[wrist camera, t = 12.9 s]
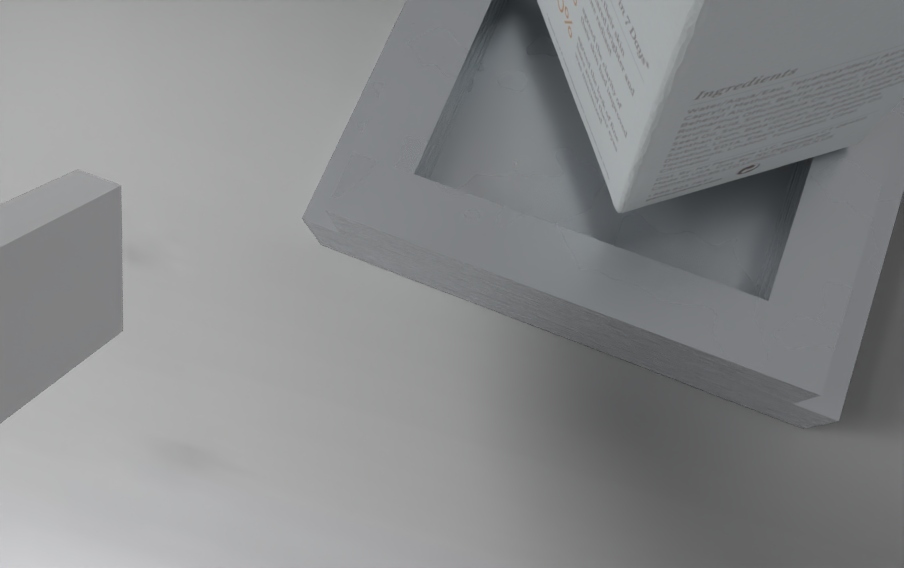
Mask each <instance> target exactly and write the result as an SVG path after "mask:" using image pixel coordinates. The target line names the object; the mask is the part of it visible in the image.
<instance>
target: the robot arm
mask: <svg viewBox="0 0 904 568" xmlns="http://www.w3.org/2000/svg"><path fill="white" fill-rule="evenodd" d="M122 331H123V291H122V211H121V185H119V184H116V183H113V182H111V181H108V180H105V179H102V178H100V177H97V176H94V175H92V174H89V173H86V172H83V171H81V170H75V171H73V172H71V173H69V174H66V175H64V176H62V177H60V178H58V179H55V180H53V181H51V182H49V183H47V184H44V185H42V186H40V187H38V188H36V189H33V190H31V191H29V192H27V193H24V194H22V195H20V196H18V197H16V198H13V199H11V200H9V201H7V202H5V203H2V204H0V423H2V422H3V421H4V420H6V419H7V418H8V417H10V416H11V415H12V414H13V413H15V412H16V411H17V410H19V409H20V408H21V407H23V406H24V405H25V404H27V403H28V402H29V401H31V400H32V399H33V398H35V397H36V396H37V395H39V394H40V393H41V392H43V391H44V390H45V389H47V388H48V387H49V386H51V385H52V384H53V383H55V382H56V381H57V380H58V379H60V378H61V377H62V376H64V375H65V374H66V373H68V372H69V371H70V370H72V369H73V368H74V367H76V366H77V365H78V364H80V363H81V362H82V361H84V360H85V359H86V358H88V357H89V356H90V355H92V354H93V353H94V352H96V351H97V350H98V349H99V348H101V347H102V346H103V345H105V344H106V343H107V342H109V341H110V340H111V339H113V338H114V337H115V336H117V335H118V334H119V333H121V332H122Z"/></svg>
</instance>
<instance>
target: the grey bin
mask: <svg viewBox="0 0 904 568" xmlns="http://www.w3.org/2000/svg"><path fill="white" fill-rule="evenodd" d="M903 191H904V98H903V99H902V100H901V101H900V102H899V103H898V104H897V105H896V106H895V107H894V108H893V109H892V110H891V111H890V112H889V113H888V114H887V115H886V116H885V117H884V118H883V119H882V120H881V121H880V122H879V123H878V124H877V125H876V126H875V127H874V128H873V129H872V130H871V131H870V132H869V134H868V135H867V136H866V137H865V138H864V139H863V140H861V141H860V142H859V143H858V144H856V145H853V146H849V147H845V148H842V149H838V150H835V151H832V152H828V153H825V154H822V155H818V156H815V157H811V158H808V159H805V160H801V161H798V162H794V163H791V164H787V165H784V166H781V167H777V168H774V169H771V170H768V171H764V172H761V173H757V174H754V175H750V176H747V177H744V178H740V179H737V180H733V181H730V182H726V183H723V184H720V185H716V186H713V187H709V188H706V189H702V190H699V191H696V192H692V193H689V194H685V195H682V196H678V197H675V198H672V199H668V200H665V201H661V202H658V203H654V204H651V205H647V206H644V207H641V208H638V209H634V210H631V211H628V212H625V213H618V212H617V211H616V209H615V207H614V205H613V202H612V199H611V195H610V193H609V190H608V187H607V184H606V181H605V179H604V176H603V173H602V171H601V168H600V165H599V163H598V160H597V157H596V155H595V152H594V149H593V147H592V144H591V141H590V139H589V136H588V133H587V131H586V128H585V126H584V123H583V121H582V118H581V116H580V113H579V111H578V108H577V105H576V103H575V100H574V97H573V95H572V92H571V89H570V87H569V84H568V81H567V79H566V76H565V73H564V70H563V68H562V65H561V62H560V60H559V57H558V54H557V52H556V49H555V47H554V44H553V41H552V39H551V36H550V34H549V31H548V28H547V26H546V23H545V20H544V18H543V15H542V12H541V10H540V7H539V4H538V2H537V0H407V1H406V3H405V5H404V7H403V9H402V11H401V13H400V15H399V17H398V19H397V21H396V24H395V26H394V28H393V30H392V32H391V34H390V36H389V38H388V40H387V42H386V44H385V47H384V49H383V51H382V53H381V55H380V57H379V59H378V61H377V63H376V65H375V67H374V69H373V72H372V74H371V76H370V78H369V80H368V82H367V84H366V86H365V88H364V90H363V92H362V94H361V97H360V99H359V101H358V103H357V105H356V107H355V109H354V111H353V113H352V115H351V117H350V119H349V122H348V124H347V126H346V128H345V130H344V132H343V134H342V136H341V138H340V140H339V142H338V145H337V147H336V149H335V151H334V153H333V155H332V157H331V159H330V161H329V163H328V165H327V167H326V170H325V172H324V174H323V176H322V178H321V180H320V182H319V184H318V186H317V188H316V190H315V192H314V195H313V197H312V199H311V201H310V203H309V205H308V207H307V209H306V211H305V213H304V215H303V218H302V219H303V221H304V222H305V223H306V225H307V226H308V228H309V229H310V230H311V232H312V233H313V235H314V236H315V237H316V239H317V240H318V241H319V243H320V244H321V245H323V246H326V247H329V248H331V249H334V250H336V251H339V252H342V253H344V254H347V255H350V256H352V257H355V258H357V259H360V260H363V261H365V262H368V263H371V264H373V265H376V266H378V267H381V268H384V269H386V270H389V271H392V272H394V273H397V274H399V275H402V276H405V277H407V278H410V279H412V280H415V281H418V282H420V283H423V284H426V285H428V286H431V287H433V288H436V289H439V290H441V291H444V292H447V293H449V294H452V295H454V296H457V297H460V298H462V299H465V300H468V301H470V302H473V303H475V304H478V305H481V306H483V307H486V308H488V309H491V310H494V311H496V312H499V313H502V314H504V315H507V316H509V317H512V318H515V319H517V320H520V321H523V322H525V323H528V324H530V325H533V326H536V327H538V328H541V329H544V330H546V331H549V332H551V333H554V334H557V335H559V336H562V337H564V338H567V339H570V340H572V341H575V342H578V343H580V344H583V345H585V346H588V347H591V348H593V349H596V350H599V351H601V352H604V353H606V354H609V355H612V356H614V357H617V358H620V359H622V360H625V361H627V362H630V363H633V364H635V365H638V366H640V367H643V368H646V369H648V370H651V371H654V372H656V373H659V374H661V375H664V376H667V377H669V378H672V379H675V380H677V381H680V382H682V383H685V384H688V385H690V386H693V387H696V388H698V389H701V390H703V391H706V392H709V393H711V394H714V395H716V396H719V397H722V398H724V399H727V400H730V401H732V402H735V403H737V404H740V405H743V406H745V407H748V408H751V409H753V410H756V411H758V412H761V413H764V414H766V415H769V416H772V417H774V418H777V419H779V420H782V421H785V422H787V423H790V424H792V425H795V426H798V427H800V428H808V427H813V426H818V425H823V424H828V423H833V422H838V421H839V419H840V416H841V412H842V408H843V405H844V401H845V398H846V394H847V391H848V387H849V384H850V380H851V376H852V373H853V369H854V366H855V362H856V359H857V355H858V352H859V348H860V344H861V341H862V337H863V334H864V330H865V327H866V323H867V320H868V316H869V312H870V309H871V305H872V302H873V298H874V295H875V291H876V288H877V284H878V280H879V277H880V273H881V270H882V266H883V263H884V259H885V256H886V252H887V248H888V245H889V241H890V238H891V234H892V231H893V227H894V223H895V220H896V216H897V213H898V209H899V206H900V202H901V199H902V195H903Z"/></svg>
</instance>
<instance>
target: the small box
mask: <svg viewBox="0 0 904 568" xmlns="http://www.w3.org/2000/svg"><path fill="white" fill-rule="evenodd" d="M537 2H538V4H539V7H540V10H541V12H542V15H543V18H544V20H545V23H546V26H547V28H548V31H549V34H550V36H551V39H552V41H553V44H554V47H555V49H556V52H557V54H558V57H559V60H560V62H561V65H562V68H563V70H564V73H565V76H566V79H567V81H568V84H569V87H570V89H571V92H572V95H573V97H574V100H575V103H576V105H577V108H578V111H579V113H580V116H581V118H582V121H583V123H584V126H585V128H586V131H587V133H588V136H589V139H590V141H591V144H592V147H593V149H594V152H595V155H596V157H597V160H598V163H599V165H600V168H601V171H602V173H603V176H604V179H605V181H606V184H607V187H608V190H609V193H610V195H611V199H612V202H613V205H614V207H615V209H616V211H617V212H618V213H625V212H628V211H631V210H634V209H638V208H641V207H644V206H647V205H651V204H654V203H658V202H661V201H665V200H668V199H672V198H675V197H678V196H682V195H685V194H689V193H692V192H696V191H699V190H702V189H706V188H709V187H713V186H716V185H720V184H723V183H726V182H730V181H733V180H737V179H740V178H744V177H747V176H750V175H754V174H757V173H761V172H764V171H768V170H771V169H774V168H777V167H781V166H784V165H787V164H791V163H794V162H798V161H801V160H805V159H808V158H811V157H815V156H818V155H822V154H825V153H828V152H832V151H835V150H838V149H842V148H845V147H849V146H853V145H856V144H858V143H859V142H860V141H861V140H863V139H864V138H865V137H866V136H867V135H868V134H869V132H870V131H871V130H872V129H873V128H874V127H875V126H876V125H877V124H878V123H879V122H880V121H881V120H882V119H883V118H884V117H885V116H886V115H887V114H888V113H889V112H890V111H891V110H892V109H893V108H894V107H895V106H896V105H897V104H898V103H899V102H900V101H901V100H902V99H903V98H904V0H537Z"/></svg>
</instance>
